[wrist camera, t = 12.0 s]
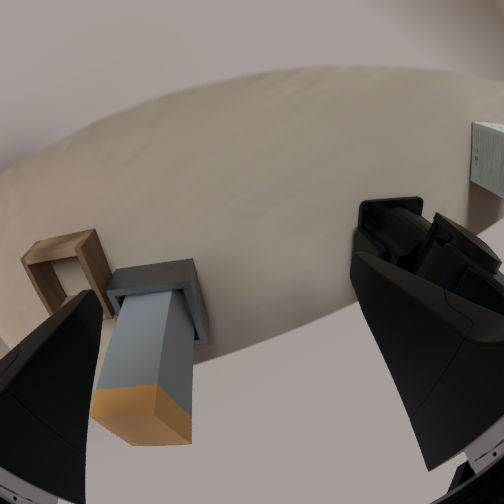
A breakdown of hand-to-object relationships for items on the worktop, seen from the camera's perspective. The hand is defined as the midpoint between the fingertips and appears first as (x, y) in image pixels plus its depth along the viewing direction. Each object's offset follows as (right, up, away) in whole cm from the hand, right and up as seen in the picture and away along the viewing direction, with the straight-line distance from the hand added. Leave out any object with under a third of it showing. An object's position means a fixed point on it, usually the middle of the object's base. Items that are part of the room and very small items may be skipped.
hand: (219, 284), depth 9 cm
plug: (-7, -3, +15) cm, 17 cm away
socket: (-7, -3, +15) cm, 17 cm away
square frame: (-15, -1, +12) cm, 19 cm away
